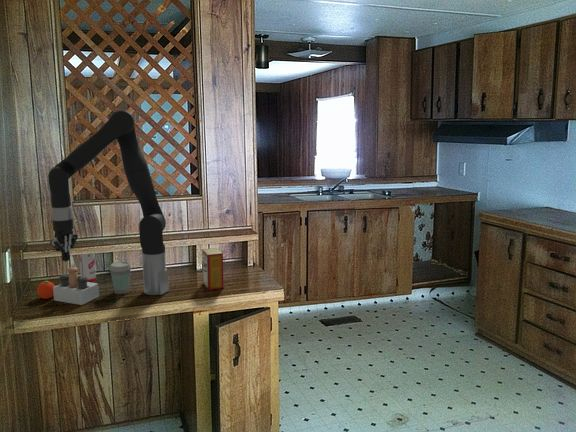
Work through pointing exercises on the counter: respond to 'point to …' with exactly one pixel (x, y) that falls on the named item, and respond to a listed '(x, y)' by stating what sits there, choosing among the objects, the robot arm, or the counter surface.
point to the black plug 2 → (82, 282)
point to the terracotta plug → (73, 277)
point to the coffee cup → (120, 276)
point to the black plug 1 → (64, 280)
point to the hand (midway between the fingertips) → (66, 260)
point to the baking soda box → (212, 268)
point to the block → (76, 293)
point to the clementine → (45, 290)
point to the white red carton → (88, 266)
